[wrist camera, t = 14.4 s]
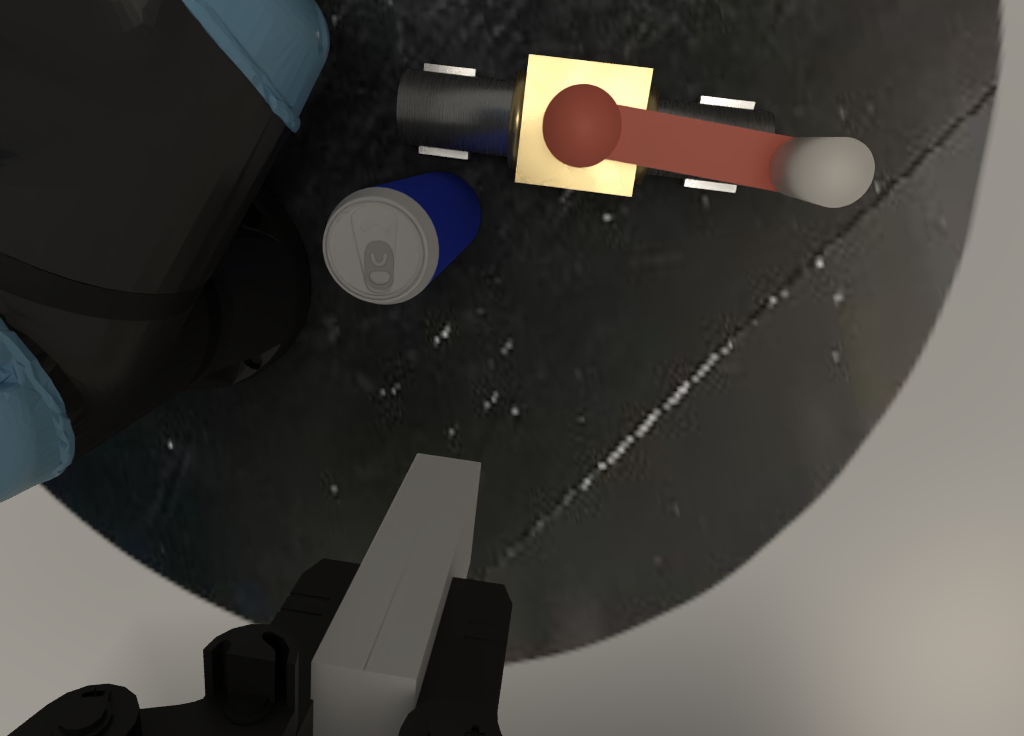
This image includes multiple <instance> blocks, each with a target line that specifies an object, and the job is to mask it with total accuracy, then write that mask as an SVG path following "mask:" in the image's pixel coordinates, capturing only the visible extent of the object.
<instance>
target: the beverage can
mask: <svg viewBox="0 0 1024 736" xmlns="http://www.w3.org/2000/svg"><path fill="white" fill-rule="evenodd" d="M480 221H481V209H480V204H479V201H478V198H477V196H476V194H475V192H474V191H473V189H472V188H471V187H470V186H469V184H468V183H466V182H465V181H464V180H463V179H461V178H460V177H458V176H456V175H454V174H451V173H447V172H440V171H437V172H430V173H426V174H422V175H418V176H414V177H410V178H405V179H401V180H397V181H393V182H389V183H385V184H381V185H377V186H373V187H369V188H365V189H361V190H358V191H356V192H354V193H352V194H350V195H349V196H347V197H346V198H344V199H343V200H342V201H341V202H340V203H339V204H338V205H337V206H336V208H335V209H334V210H333V212H332V214H331V216H330V218H329V220H328V223H327V226H326V229H325V232H324V237H323V254H324V259H325V262H326V265H327V268H328V270H329V272H330V274H331V275H332V277H333V278H334V279H335V281H336V282H337V283H338V284H339V285H340V286H341V287H342V288H343V289H344V290H345V291H347V292H348V293H349V294H351V295H353V296H354V297H356V298H359V299H361V300H364V301H368V302H372V303H376V304H385V305H387V304H396V303H401V302H404V301H406V300H409V299H411V298H413V297H414V296H416V295H418V294H419V293H420V292H421V291H422V290H423V289H424V288H425V287H426V286H427V285H428V284H429V283H430V282H431V281H432V280H434V279H435V278H436V277H437V276H438V275H439V274H440V273H441V272H442V271H443V270H444V269H445V268H446V267H447V266H448V265H449V264H450V263H451V262H452V261H453V260H454V259H455V258H456V257H457V256H458V255H459V254H460V253H461V252H462V251H463V250H464V249H465V248H466V247H467V246H468V245H469V244H470V243H471V242H472V240H473V239H474V238H475V236H476V234H477V232H478V229H479V226H480Z"/></svg>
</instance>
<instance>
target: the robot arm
mask: <svg viewBox="0 0 1024 736" xmlns="http://www.w3.org/2000/svg"><path fill="white" fill-rule="evenodd" d="M329 46H330V37H329V30H328V26H327V23H326V20H325V17H324V15H323V13H322V11H321V9H320V8H319V6H318V5H317V3H316V2H315V1H314V0H0V502H3V501H5V500H7V499H9V498H11V497H13V496H15V495H17V494H19V493H21V492H23V491H25V490H27V489H29V488H31V487H33V486H35V485H37V484H39V483H42V482H45V481H48V480H51V479H53V478H54V477H57V476H58V475H60V474H62V473H63V471H64V470H65V468H66V467H67V466H68V465H70V464H71V463H73V462H74V461H76V460H77V459H79V458H80V457H82V456H83V455H85V454H86V453H88V452H89V451H91V450H92V449H94V448H96V447H97V446H99V445H100V444H102V443H103V442H105V441H106V440H108V439H109V438H111V437H112V436H114V435H115V434H117V433H118V432H120V431H121V430H123V429H124V428H126V427H127V426H129V425H130V424H132V423H134V422H135V421H137V420H138V419H140V418H141V417H143V416H144V415H146V414H147V413H149V412H150V411H152V410H153V409H155V408H156V407H158V406H159V405H161V404H162V403H164V402H165V401H167V400H168V399H170V398H172V397H173V396H175V395H176V394H177V393H179V392H180V391H188V390H198V389H209V388H218V387H224V386H229V385H232V384H236V383H238V382H241V381H244V380H246V379H248V378H251V377H253V376H254V375H256V374H258V373H259V372H261V371H262V370H264V369H265V368H266V367H268V366H269V365H271V364H272V363H273V362H275V361H276V360H277V359H278V358H280V357H281V356H282V355H283V354H284V353H285V352H286V351H287V350H288V349H289V347H290V346H291V345H292V344H293V342H294V341H295V339H296V338H297V336H298V334H299V333H300V331H301V328H302V326H303V324H304V321H305V318H306V315H307V311H308V307H309V301H310V272H309V266H308V261H307V257H306V253H305V250H304V247H303V244H302V241H301V239H300V237H299V235H298V232H297V230H296V228H295V227H294V225H293V223H292V221H291V220H290V218H289V217H288V215H287V214H286V212H285V211H284V210H283V208H282V207H281V206H280V204H279V203H278V202H277V201H276V200H275V199H274V198H273V197H272V196H271V195H270V194H269V193H268V192H267V191H266V190H265V189H264V188H263V187H262V184H263V182H264V180H265V179H266V177H267V175H268V173H269V171H270V170H271V168H272V166H273V164H274V162H275V161H276V159H277V157H278V155H279V153H280V152H281V150H282V148H283V146H284V144H285V143H286V141H287V139H288V137H289V135H290V134H291V132H294V133H296V132H297V131H298V129H299V127H300V118H299V115H300V113H301V111H302V109H303V107H304V105H305V103H306V101H307V99H308V97H309V95H310V92H311V90H312V88H313V86H314V84H315V82H316V80H317V78H318V76H319V74H320V72H321V70H322V68H323V66H324V64H325V62H326V59H327V56H328V53H329ZM480 469H481V462H474V461H467V460H460V459H454V458H447V457H440V456H433V455H426V454H420V453H417V455H416V457H415V459H414V461H413V463H412V465H411V467H410V469H409V471H408V473H407V475H406V477H405V479H404V481H403V482H402V484H401V486H400V488H399V490H398V492H397V494H396V496H395V498H394V500H393V502H392V504H391V506H390V508H389V510H388V512H387V514H386V516H385V518H384V520H383V522H382V524H381V526H380V528H379V530H378V532H377V534H376V536H375V538H374V540H373V542H372V543H371V545H370V547H369V549H368V551H367V553H366V555H365V557H364V559H363V561H362V563H361V564H356V563H350V562H343V561H337V560H331V559H324V558H323V559H322V560H321V561H319V562H318V563H316V564H315V565H314V566H312V567H311V568H309V569H308V570H307V571H305V572H304V573H303V574H302V575H301V577H300V578H299V580H298V582H297V583H296V585H295V586H294V588H293V589H292V591H291V594H290V596H288V597H287V599H286V601H285V602H284V604H283V605H282V607H281V610H280V612H278V613H277V615H276V616H275V618H274V620H273V621H272V623H271V624H270V625H268V624H250V625H246V626H242V627H238V628H234V629H231V630H229V631H227V632H225V633H223V634H221V635H219V636H217V637H216V638H215V639H214V640H213V641H212V642H210V643H209V644H208V645H207V646H206V647H205V648H204V650H203V657H204V677H205V697H204V698H203V699H201V700H198V701H195V702H191V703H186V704H181V705H173V706H165V707H154V708H146V709H140V708H139V704H138V701H137V697H136V695H135V694H133V693H132V692H131V691H129V690H128V689H127V688H125V687H122V686H118V685H113V684H100V685H89V686H85V687H83V688H80V689H77V690H74V691H71V692H68V693H66V694H64V695H63V696H61V697H59V698H58V699H56V700H54V701H53V702H51V703H49V704H48V705H46V706H45V707H44V708H42V709H41V710H40V711H39V712H37V713H36V714H35V715H33V716H32V717H31V718H29V719H28V720H27V721H26V722H25V723H23V724H22V725H20V726H19V727H18V728H17V729H15V730H14V731H13V732H12V733H10V734H9V735H8V736H502V734H501V732H500V728H499V725H498V717H497V710H498V704H499V696H500V689H501V682H502V675H503V668H504V661H505V654H506V647H507V640H508V632H509V625H510V618H511V611H512V602H511V600H510V598H509V595H508V593H507V590H506V588H505V586H504V585H502V584H496V583H489V582H483V581H476V580H470V579H466V576H467V572H468V568H469V564H470V559H471V550H472V541H473V532H474V523H475V514H476V505H477V496H478V487H479V478H480Z"/></svg>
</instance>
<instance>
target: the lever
mask: <svg viewBox="0 0 1024 736" xmlns="http://www.w3.org/2000/svg"><path fill="white" fill-rule="evenodd" d="M542 131H543V137H544V141H545V143H546V146H547V148H548V149H549V151H550V152H551V154H552V155H553V156H554V157H555V158H556V159H557V160H559V161H560V162H562V163H563V164H566V165H568V166H571V167H577V168H585V167H590V166H594V165H596V164H598V163H600V162H602V161H603V160H605V159H607V160H613V161H618V162H623V163H628V164H634V165H639V166H644V167H650V168H655V169H660V170H665V171H671V172H676V173H681V174H687V175H692V176H697V177H702V178H708V179H713V180H718V181H724V182H729V183H734V184H739V185H745V186H750V187H755V188H761V189H766V190H771V191H776V192H780V193H782V194H784V195H786V196H790V197H793V198H797V199H800V200H804V201H807V202H811V203H814V204H818V205H821V206H825V207H830V208H838V207H843V206H846V205H849V204H851V203H853V202H855V201H856V200H858V199H859V198H860V197H861V196H862V195H863V194H864V193H865V192H866V191H867V189H868V188H869V186H870V184H871V182H872V180H873V176H874V171H875V164H874V159H873V156H872V153H871V152H870V150H869V149H868V147H867V146H866V145H865V144H863V143H862V142H860V141H859V140H856V139H853V138H848V137H798V138H795V137H789V136H784V135H779V134H773V133H768V132H763V131H757V130H752V129H746V128H741V127H736V126H730V125H725V124H720V123H714V122H709V121H704V120H698V119H693V118H687V117H682V116H677V115H671V114H666V113H661V112H655V111H650V110H645V109H639V108H634V107H629V106H623V105H618V104H616V102H615V100H614V99H613V98H612V96H611V95H610V94H609V93H607V92H606V91H605V90H603V89H602V88H600V87H597V86H595V85H591V84H576V85H572V86H569V87H567V88H565V89H563V90H562V91H560V92H559V93H558V94H557V95H556V96H555V97H554V98H553V99H552V100H551V102H550V103H549V105H548V106H547V108H546V111H545V114H544V117H543V124H542Z"/></svg>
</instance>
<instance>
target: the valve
mask: <svg viewBox="0 0 1024 736" xmlns="http://www.w3.org/2000/svg"><path fill="white" fill-rule="evenodd" d="M652 73H653V69H651V68H643V67H634V66H626V65H617V64H608V63H600V62H591V61H582V60H574V59H565V58H557V57H548V56H539V55H531V54H529V59H528V68H527V71H525V70H518V72H517V75H516V79H515V81H508V80H499V79H491V78H482V77H478V71H477V70H476V69H469V68H460V67H452V66H443V65H435V64H426V63H424V71H423V70H414V69H405V70H404V72H403V74H402V76H401V80H400V84H399V89H398V96H397V112H396V116H397V130H398V136H399V139H400V141H401V143H402V144H408V145H416V146H419V153H420V154H428V155H436V156H444V157H452V158H460V159H471V152H472V153H480V154H488V155H496V156H504V157H507V165H508V168H512V169H516V175H515V182H519V183H527V184H535V185H543V186H551V187H559V188H567V189H574V190H582V191H590V192H598V193H606V194H614V195H622V196H630V197H632V191H633V185H634V184H641V185H642V183H643V181H644V178H645V175H646V174H650V175H658V176H666V177H674V178H682V184H681V185H682V186H685V187H693V188H701V189H709V190H717V191H725V192H733V193H735V191H736V187H737V185H738V186H745V185H739V184H734V183H729V182H724V181H718V180H713V179H708V178H702V177H697V176H692V175H687V174H681V173H676V172H671V171H665V170H660V169H655V168H650V167H644V166H639V165H634V164H628V163H623V162H618V161H613V160H607V159H605V160H603V161H602V162H600V163H598V164H596V165H594V166H590V167H585V168H577V167H571V166H568V165H566V164H563V163H562V162H560V161H559V160H557V159H556V158H555V157H554V156H553V155H552V154H551V152H550V151H549V149H548V148H547V146H546V143H545V141H544V137H543V131H542V124H543V117H544V114H545V111H546V108H547V106H548V105H549V103H550V102H551V100H552V99H553V98H554V97H555V96H556V95H557V94H558V93H559V92H560V91H562V90H563V89H565V88H567V87H569V86H572V85H576V84H591V85H595V86H597V87H600V88H602V89H603V90H605V91H606V92H607V93H609V94H610V95H611V96H612V98H613V99H614V100H615V102H616V104H618V105H623V106H629V107H634V108H639V109H645V110H650V111H655V112H661V113H666V114H671V115H677V116H682V117H687V118H693V119H698V120H704V121H709V122H714V123H720V124H725V125H730V126H736V127H741V128H746V129H752V130H757V131H763V132H768V133H773V134H774V132H775V118H774V114H773V112H770V111H762V110H753V109H754V105H755V102H749V101H741V100H732V99H724V98H715V97H707V96H700V97H698V101H697V103H694V102H685V101H677V100H668V99H660V98H659V86H653V85H651V79H652ZM747 187H750V186H747Z"/></svg>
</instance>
